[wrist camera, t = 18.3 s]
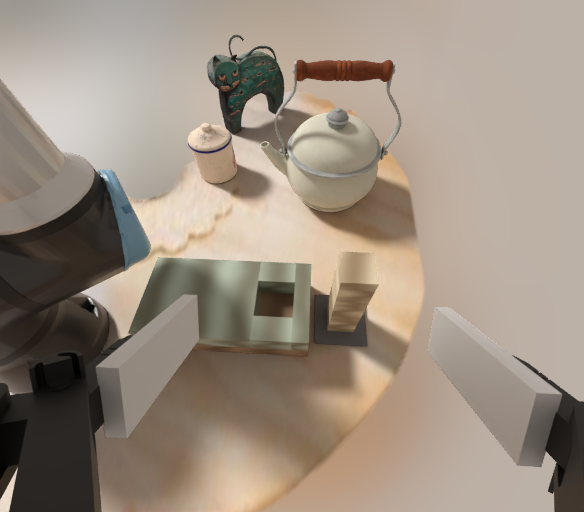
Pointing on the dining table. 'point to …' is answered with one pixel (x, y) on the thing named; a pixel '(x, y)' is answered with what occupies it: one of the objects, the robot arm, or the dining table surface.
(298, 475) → the dining table surface
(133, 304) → the dining table surface
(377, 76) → the kettle
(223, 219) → the dining table surface
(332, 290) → the wooden block
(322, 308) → the rubber mat
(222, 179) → the teacup with lid
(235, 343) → the green block with hole
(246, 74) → the ceramic cat
